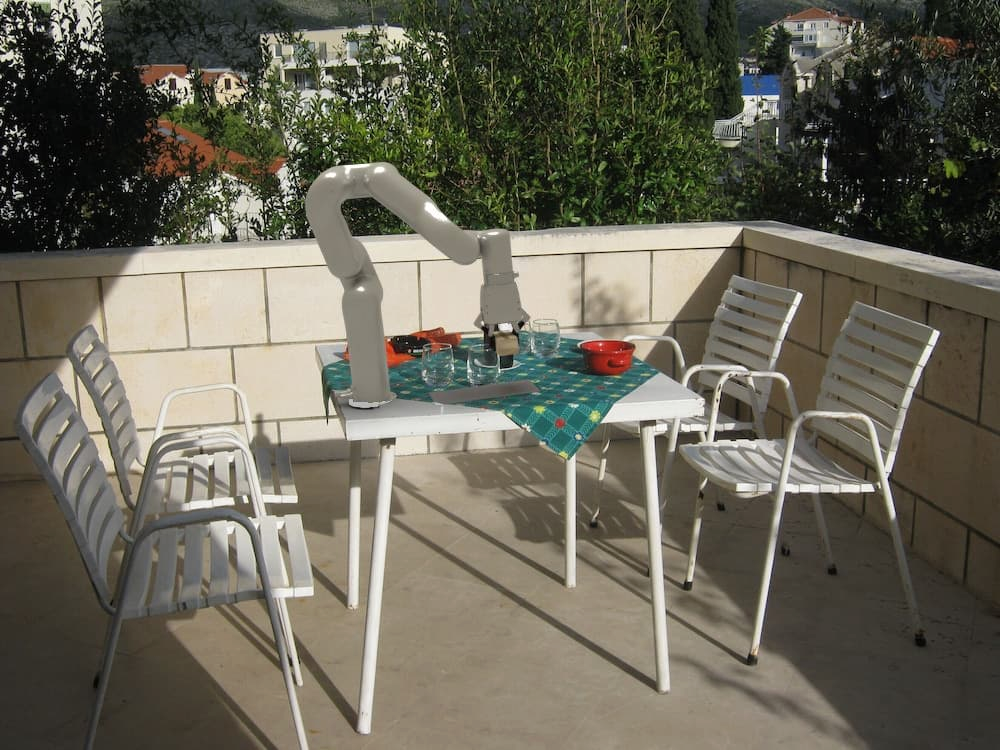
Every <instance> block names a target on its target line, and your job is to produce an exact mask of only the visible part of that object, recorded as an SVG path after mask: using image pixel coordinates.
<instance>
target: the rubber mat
mask: <svg viewBox="0 0 1000 750" xmlns="http://www.w3.org/2000/svg"><path fill="white" fill-rule="evenodd" d="M531 393H532V394H533V393H539V394H542V393H541V390H540V389H539V388H538V387H537V386H536V385H535V384H534V383H533V382H532V381H531V380H530V379H529V378H528V379H520V380H513V381H506V382H499V383H491V384H485V385H483V384H482V385H478V386H477V385H476V386H469V387H468V386H467V387H460V388H454V389H448V390H447V389H446V390H438V391H431V392H428V394H429V396H430V398H431V399H432V401H433V403H434V402H435V401H436V402H438V403H440V404H441V403H442V404H444V405H451V404H459V403H464V402H472V401H479V400H486V399H494V398H502V397H510V396H514V395H515V396H516V395H523V394H531Z"/></svg>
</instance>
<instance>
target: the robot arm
mask: <svg viewBox="0 0 1000 750" xmlns="http://www.w3.org/2000/svg"><path fill="white" fill-rule="evenodd" d="M305 197H306V198H305V203H304V206H305V207H304V208H305V214H306V217H307V221H308V223H309V226H310V228H311V230H312V232H313V234H314V235H313V236H314V237H315V240H316V243H317V245H318V248H319V250H320V252H321V255H322V256H323V260H324V261H325V265H326V267H327V269H328V271H329V273H331V275H333V276H334V277H335V278H337V279H338V280H339V282H340V284H341V285H342V287H343V290H344V291H343V293H342V297H341V309H342V310H341V311H342V316H343V321H344V327H345V334H346V343H347V350H348V351H347V352H348V359H349V368H350V369H349V370H350V378H351V384H350V385H349V387H347V388H346V389H344V390H342V389H341V390H334V396H335V399H340V400H346V399H349V398H350V399H353V402H368V403H373V402H379V403H380V402H382V401H386V402H387V401H391V400H394V399H395V400H397V398H398V395H397V393H396V392H394V391H391V386H390V376H389V375H390V374H389V368H388V357H387V350H386V347H387V346H386V339H385V330H384V323H383V315H382V303H383V299H384V288H383V284H382V283H381V281H380V278H379V276H378V274H377V271H376V269H375V267H374V265H373V262H372V260H371V257H370V254H369V253H368V251H367V249H366V247H365V245H364V244H363V243H362V242H361V241H360V240H359V239H357V238H355V237H353V235H352V233H351V231H350V229H349V225H348V223H347V221H346V219H345V216H343V213H342V210H341V206H342V204H343V202H345V201H346V200H350V199H361V198H371V197H372V198H373V199H374V200H376V201H377V202H378V203H380V204H381V205H382V206H383V207H385V208H386V209H387V210H389V211H390V212H391V213H392V214H394V215H395V216H397V217H398V218H399V219H400V220H402V221H403V222H404V223H405V224H407V225H408V226H409V227H410V228H411V229H413V230H414V232H415V233H417V234H418V235H420V236H421V237H422V238H423V239H424V240H425V241H427V243H429V244H430V245H432V247H434V248H435V249H436V250H438V251H439V252H440V253H441V254H443V255H444V256H446V257H447V258H448V259H450V260H451V261H452V262H453V263H455V264H458V265H460V266H470V265H472V264H474V263H475V262H477V260H478V259H479V258H481V265H482V274H483V275H482V277H483V284H481V285H480V290H479V291H480V292H479V293H480V294H479V310H480V311H479V314H478V315H477V317H476V319H475V320H474V322H473V326H475V327H476V328H478V329H479V330H481V331H482V332H483V333H485V334H486V335H487V340H488V341H487V342H488V347H489V349H490V350H492V352H495V351H496V343H495V336H494V333H493V332H495V331H494V330H495V325H502V324H509V323H510V325H511V328H512V329H511V330H512V331H510V332H511V333H512V334H513V335H515V336H516V337H517V338H518V345H519V344H520V332H521V329H523V327H524V326H525V324H526V323H528V321H530V319H531V315H530V314H529V313H527V311H526V310H524V309H523V307H522V301H521V297H520V292H519V291H520V290H519V287H518V283H517V282H516V281H515V280H516V279H517V278H519V277H520V273H519V271H514V269H513V259H512V257H513V254H512V243H511V235H510V232H509V230H507V229H505V228H491V229H490V228H489V229H486V230H471V229H464V230H463V229H462V228H460V227H459V226H458V225H456V224H455V223H454V222H453V221H451V220H450V219H449V218H448V217H447V216H446V215H445V214H444V212H442V210H441V209H440V208H439V207H438V206H437V204H436V203H435V201H434V200H433V199H432V198H431V197H429V195H428V194H425V192H423V191H422V190H420V189H419V188H418V187H417V186H415V185H414V184H412V182H410V181H409V180H408V179H407V178H405V177H404V176H402V175H401V174H400V172H399V171H398V169H397V167H396V166H395V165H393V164H391V163H389V162H386V161H379V162H378V161H377V162H371V163H359V164H358V163H357V164H356V163H355V164H347V165H346V164H345V165H336V166H332V167H330V168H328V169H326V170H324V171H323V172H321V173H320V174H319V175H318V176H316V178H315V180H314V181H313V182H312V184H311V185H310V187H309V188H308V191H307V193H306V196H305ZM482 322H484V324H485V325H484V324H482ZM396 397H397V398H396ZM395 400H394V401H395Z"/></svg>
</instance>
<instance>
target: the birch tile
mask: <svg viewBox="0 0 1000 750" xmlns="http://www.w3.org/2000/svg"><path fill="white" fill-rule="evenodd" d="M511 332H512V331H511V330H509V329H505V330H498V331H497V330H496V331H494V332H493V333H494V336H495V343H496V351H494V352H495V353H496V355H498V356H499V357H502V356H511V355H517V354H519V352H520V351H519V344H518V338H517V337H516V336H515V335H513V334H512V333H511Z"/></svg>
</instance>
